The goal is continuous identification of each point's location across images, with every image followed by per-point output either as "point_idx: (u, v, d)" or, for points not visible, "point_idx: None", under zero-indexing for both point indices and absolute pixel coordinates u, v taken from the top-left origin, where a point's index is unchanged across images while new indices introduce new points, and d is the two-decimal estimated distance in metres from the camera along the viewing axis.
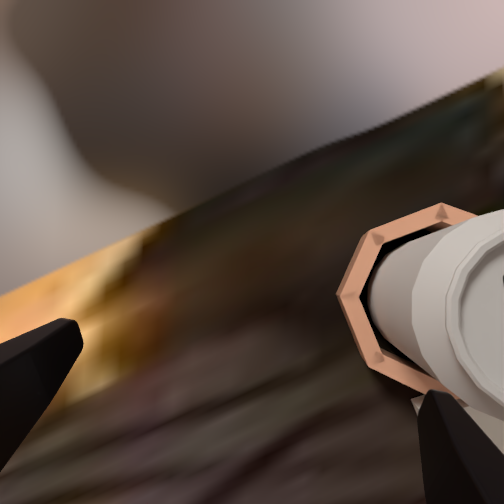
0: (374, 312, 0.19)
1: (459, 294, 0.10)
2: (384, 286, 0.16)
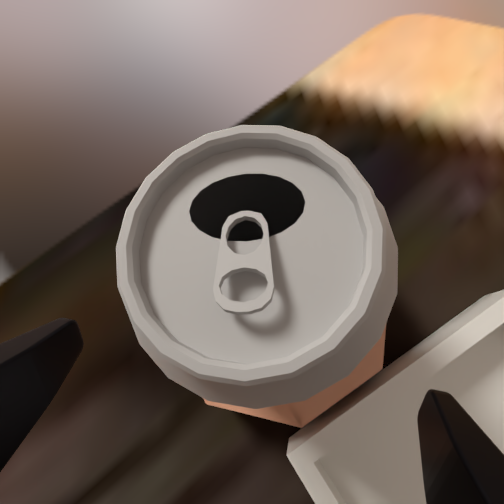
0: None
1: (128, 240, 0.08)
2: None
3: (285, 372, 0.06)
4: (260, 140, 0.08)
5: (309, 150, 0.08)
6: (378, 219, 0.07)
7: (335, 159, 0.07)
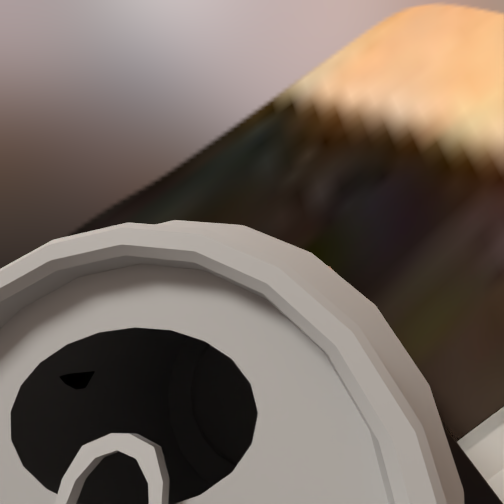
0: None
1: None
2: (103, 411, 0.09)
3: None
4: (164, 258, 0.04)
5: (267, 293, 0.03)
6: None
7: (326, 333, 0.03)
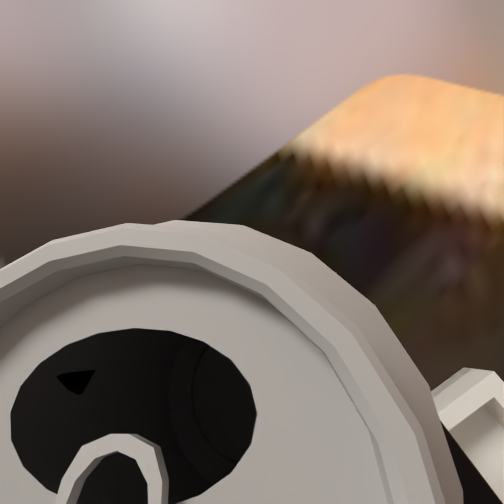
0: None
1: None
2: (104, 411, 0.09)
3: None
4: (164, 259, 0.04)
5: (267, 294, 0.03)
6: None
7: (325, 334, 0.03)
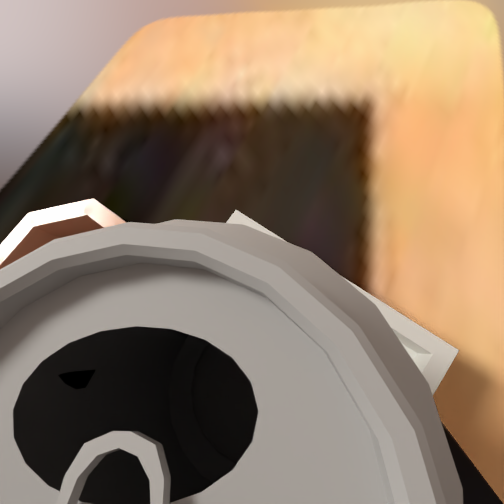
0: None
1: None
2: (104, 409, 0.09)
3: None
4: (165, 257, 0.04)
5: (268, 293, 0.03)
6: None
7: (326, 332, 0.03)
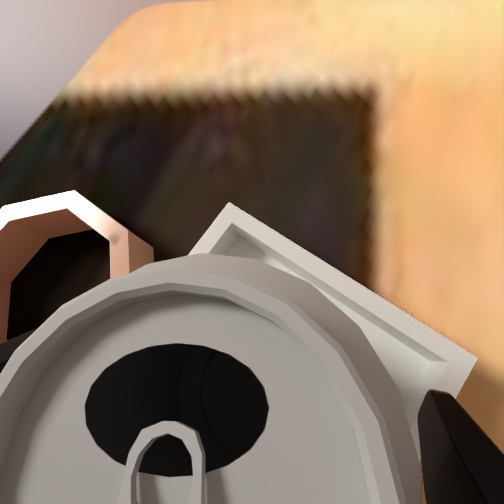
0: (168, 438, 0.13)
1: None
2: (127, 407, 0.11)
3: None
4: (200, 292, 0.05)
5: (277, 321, 0.05)
6: (393, 489, 0.04)
7: (319, 352, 0.04)
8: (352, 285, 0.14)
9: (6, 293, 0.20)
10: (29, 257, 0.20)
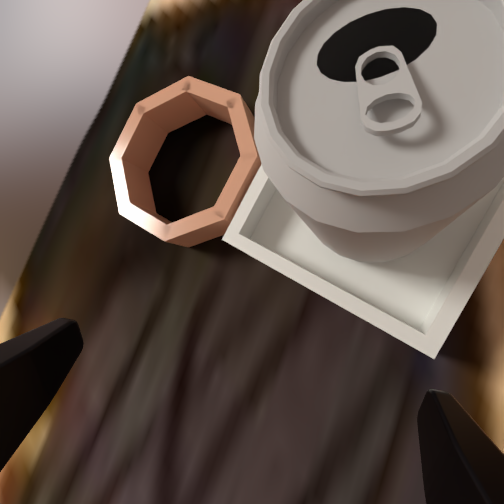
0: None
1: (269, 98, 0.09)
2: None
3: (444, 172, 0.07)
4: None
5: None
6: None
7: None
8: None
9: (147, 179, 0.25)
10: (157, 150, 0.25)
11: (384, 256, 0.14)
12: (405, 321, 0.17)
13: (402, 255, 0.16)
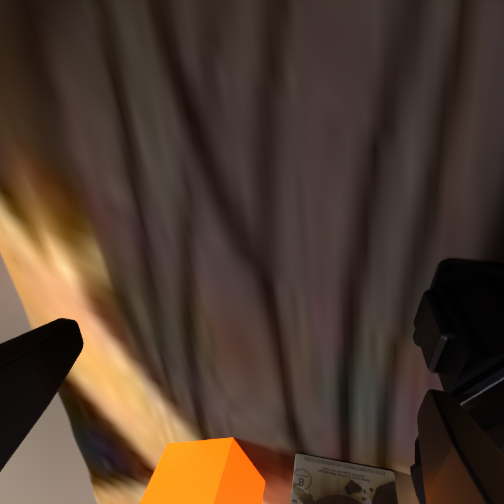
0: None
1: None
2: None
3: None
4: None
5: None
6: None
7: None
8: None
9: None
10: None
11: None
12: None
13: None
